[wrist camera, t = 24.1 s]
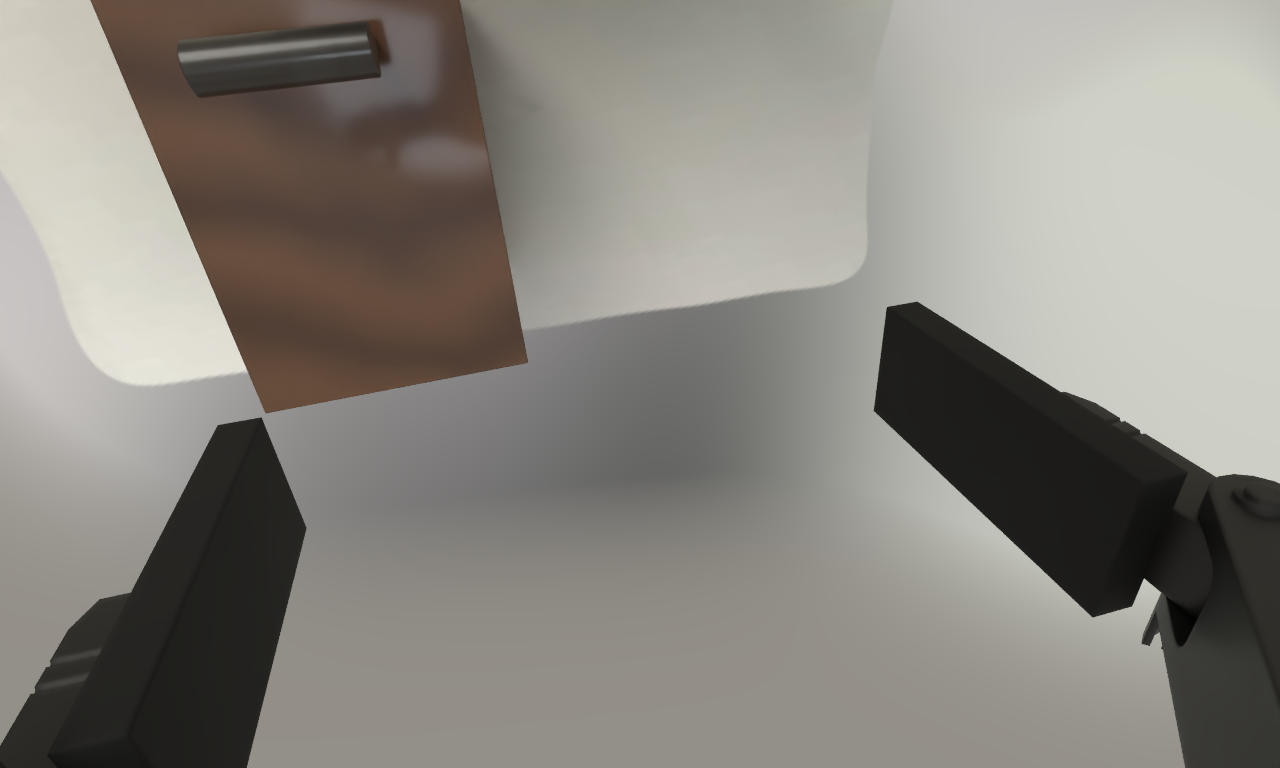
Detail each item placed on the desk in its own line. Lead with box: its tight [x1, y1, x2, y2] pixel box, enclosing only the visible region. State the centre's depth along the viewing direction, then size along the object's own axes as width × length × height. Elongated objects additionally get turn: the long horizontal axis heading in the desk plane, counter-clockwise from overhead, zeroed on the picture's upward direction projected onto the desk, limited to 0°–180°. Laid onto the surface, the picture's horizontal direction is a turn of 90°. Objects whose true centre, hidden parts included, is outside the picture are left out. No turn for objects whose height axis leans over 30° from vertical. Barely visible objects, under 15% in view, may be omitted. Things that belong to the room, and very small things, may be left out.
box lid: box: [91, 0, 528, 413], centre depth 28 cm, size 17×13×5 cm
